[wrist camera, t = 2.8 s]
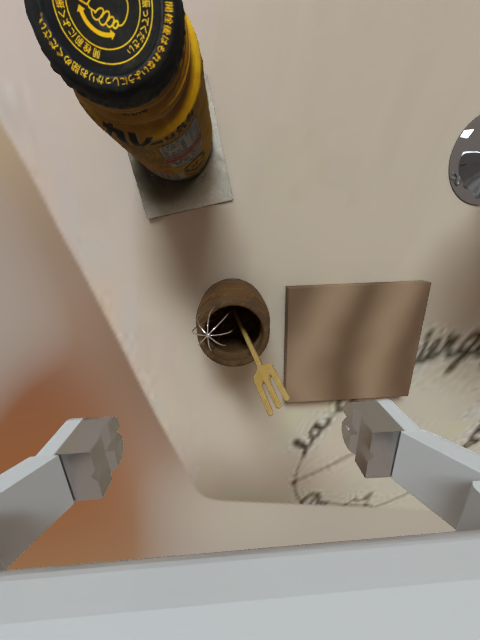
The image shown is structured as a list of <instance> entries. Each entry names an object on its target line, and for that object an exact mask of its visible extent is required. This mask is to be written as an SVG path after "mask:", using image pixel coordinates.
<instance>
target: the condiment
mask: <svg viewBox="0 0 480 640" xmlns="http://www.w3.org/2000/svg"><path fill="white" fill-rule="evenodd" d="M24 3H25V8H26V13H27V16H28V19H29V21H30V23H31V25H32V28H33V30H34V33H35V36H36V38H37V40H38V43H39V44H40V46H41V50H42V51H43V53H44V54H45V56H46V57H47V58H48V60H49V61H50V63H51V67H52V69H53V70H54V71H55V72H56V73H58V74H59V75H61V77H62V79H63V80H64V81H65V83H66V84H67V85H68V86H69V87H70V88H73V90H74V92H75V95H76V97H77V98H78V100H79V103H80V104H81V106H82V107H83V108H84V110H85V111H86V112H87V114H88V115H89V116H90V117H91V118H92V119H93V120H94V121H95V123H96V124H97V125H98V126H100V127H101V128H102V129H103V130H104V131H105V132H106V133H108V134H109V135H110V136H111V137H112V138H113V139H114V140H116V141H117V142H118V143H119V144H120V145H121V146H122V147H123V148H125V149H126V150H127V152H128V155H129V158H130V162H131V165H132V169H133V173H134V176H135V179H136V182H137V186H138V188H139V191H140V195H141V198H142V202H143V206H144V209H145V212H146V215H147V218H148V219H150V218H155V217H160V216H164V215H168V214H173V213H178V212H182V211H186V210H191V209H195V208H200V207H203V206H208V205H212V204H217V203H221V202H225V201H229V200H233V198H232V194H231V189H230V184H229V179H228V174H227V169H226V164H225V159H224V154H223V149H222V144H221V140H220V135H219V130H218V125H217V120H216V115H215V110H214V105H213V100H212V95H211V91H210V86H209V81H208V75H204V72H203V60H202V57H201V54H200V49H199V44H198V41H197V37H196V34H195V31H194V29H193V27H192V24H191V22H190V20H189V19H188V17H187V15H186V13H185V11H184V8H183V2H182V0H24ZM202 173H204V175H202ZM151 175H153V176H151ZM201 178H203V179H202V181H200V179H201Z"/></svg>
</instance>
